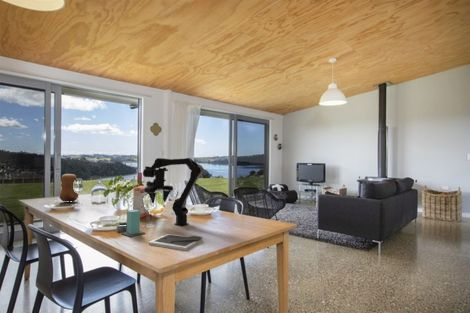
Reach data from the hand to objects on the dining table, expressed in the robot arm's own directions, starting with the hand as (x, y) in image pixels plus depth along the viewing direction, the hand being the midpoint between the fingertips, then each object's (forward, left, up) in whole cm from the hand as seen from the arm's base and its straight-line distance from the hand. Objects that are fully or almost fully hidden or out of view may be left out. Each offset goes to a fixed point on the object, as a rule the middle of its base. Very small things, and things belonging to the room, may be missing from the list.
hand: (158, 202), depth 177 cm
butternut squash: (+118, +3, -13) cm, 119 cm away
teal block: (-9, +24, -12) cm, 29 cm away
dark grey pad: (-9, +24, -13) cm, 29 cm away
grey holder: (+2, +22, -13) cm, 25 cm away
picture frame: (-39, +20, -14) cm, 46 cm away
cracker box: (+24, -5, -13) cm, 28 cm away
